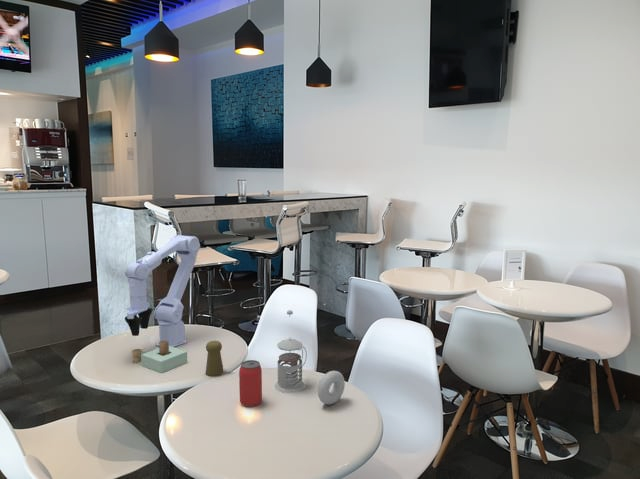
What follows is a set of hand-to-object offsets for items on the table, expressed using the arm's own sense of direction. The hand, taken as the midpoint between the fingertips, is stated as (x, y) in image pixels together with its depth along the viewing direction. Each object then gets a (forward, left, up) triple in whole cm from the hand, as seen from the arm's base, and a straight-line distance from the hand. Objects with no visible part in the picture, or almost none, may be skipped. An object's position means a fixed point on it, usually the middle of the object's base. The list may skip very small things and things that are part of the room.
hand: (140, 331), depth 171 cm
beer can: (+2, +57, -10) cm, 58 cm away
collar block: (-1, +13, -9) cm, 16 cm away
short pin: (+3, +3, -9) cm, 10 cm away
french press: (-14, +60, -10) cm, 62 cm away
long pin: (-1, +13, -9) cm, 16 cm away
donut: (-11, +77, -10) cm, 78 cm away
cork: (-6, +33, -10) cm, 35 cm away
